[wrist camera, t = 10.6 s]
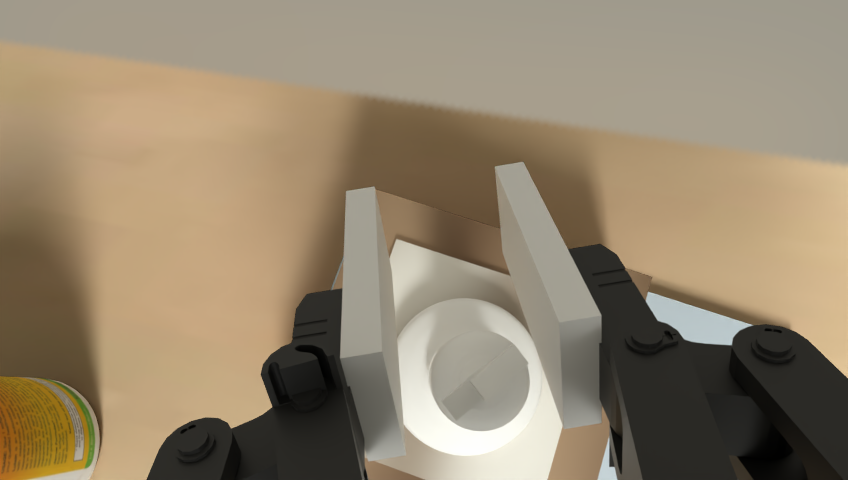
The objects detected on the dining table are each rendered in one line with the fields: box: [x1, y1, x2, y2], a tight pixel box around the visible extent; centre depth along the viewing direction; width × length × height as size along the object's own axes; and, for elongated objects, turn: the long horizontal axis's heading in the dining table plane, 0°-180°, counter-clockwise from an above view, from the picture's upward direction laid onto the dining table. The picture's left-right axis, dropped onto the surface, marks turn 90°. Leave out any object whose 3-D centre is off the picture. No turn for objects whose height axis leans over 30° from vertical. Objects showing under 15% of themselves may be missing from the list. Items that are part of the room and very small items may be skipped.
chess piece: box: [397, 298, 542, 456], centre depth 16 cm, size 5×5×10 cm
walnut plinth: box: [333, 189, 652, 480], centre depth 24 cm, size 10×10×5 cm
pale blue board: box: [331, 256, 753, 480], centre depth 26 cm, size 18×11×1 cm, turn 71°
